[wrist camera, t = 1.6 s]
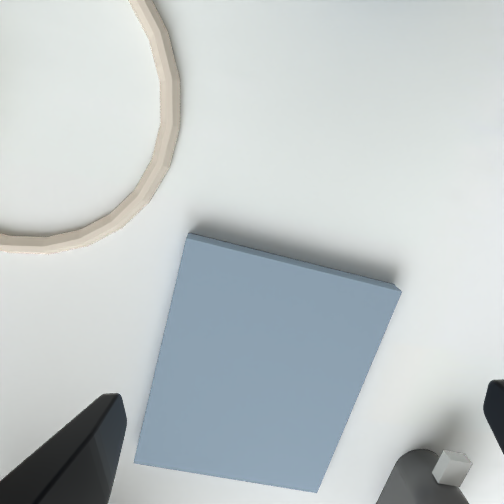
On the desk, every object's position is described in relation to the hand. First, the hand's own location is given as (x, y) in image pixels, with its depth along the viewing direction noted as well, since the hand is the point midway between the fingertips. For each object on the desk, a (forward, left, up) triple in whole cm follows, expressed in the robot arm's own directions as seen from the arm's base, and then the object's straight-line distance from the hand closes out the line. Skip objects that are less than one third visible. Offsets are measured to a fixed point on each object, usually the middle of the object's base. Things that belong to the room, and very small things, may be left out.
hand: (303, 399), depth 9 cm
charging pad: (-8, -2, -13) cm, 16 cm away
